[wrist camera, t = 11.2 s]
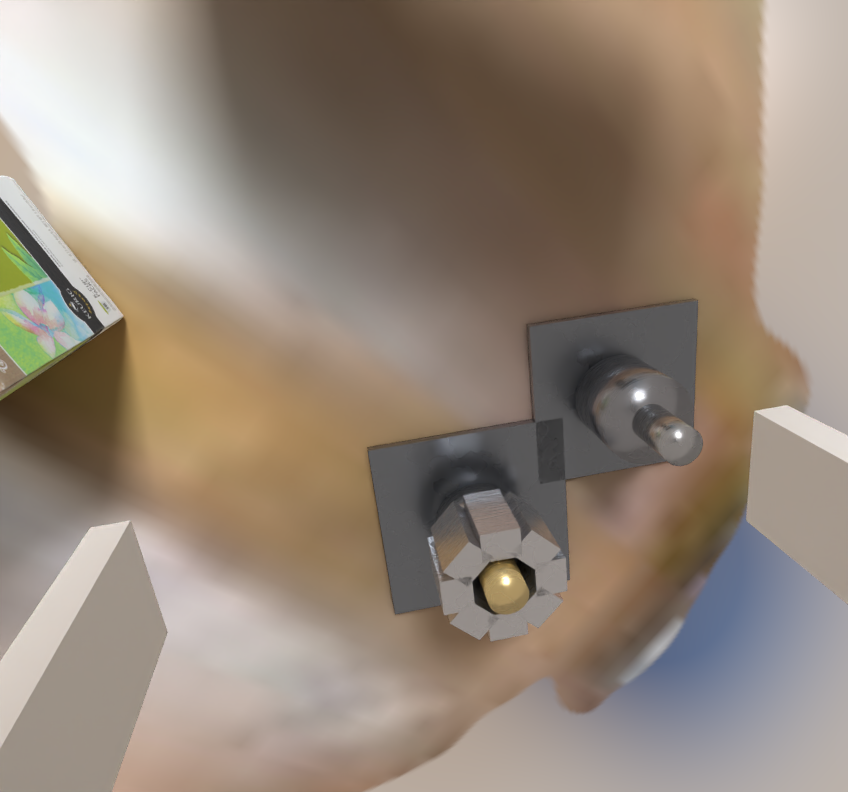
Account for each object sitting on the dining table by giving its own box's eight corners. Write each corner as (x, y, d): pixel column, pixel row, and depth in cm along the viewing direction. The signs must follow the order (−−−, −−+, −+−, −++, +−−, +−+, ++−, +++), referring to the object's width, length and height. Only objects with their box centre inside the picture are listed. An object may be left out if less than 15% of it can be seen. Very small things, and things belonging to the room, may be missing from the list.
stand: (526, 324, 42) (580, 365, 33) (693, 298, 43) (788, 331, 34) (536, 480, 46) (586, 553, 37) (688, 453, 47) (771, 517, 39)
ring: (405, 557, 43) (415, 604, 38) (478, 470, 41) (497, 507, 37) (492, 608, 45) (511, 657, 41) (564, 527, 44) (592, 569, 39)
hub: (367, 447, 43) (377, 518, 35) (559, 414, 45) (617, 474, 36) (394, 609, 48) (409, 707, 39) (567, 575, 50) (619, 663, 41)
